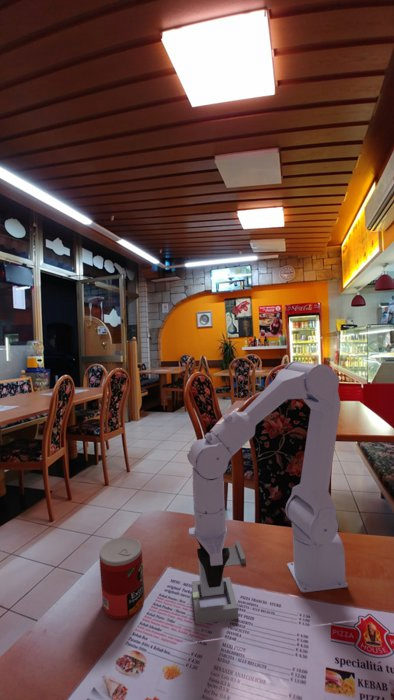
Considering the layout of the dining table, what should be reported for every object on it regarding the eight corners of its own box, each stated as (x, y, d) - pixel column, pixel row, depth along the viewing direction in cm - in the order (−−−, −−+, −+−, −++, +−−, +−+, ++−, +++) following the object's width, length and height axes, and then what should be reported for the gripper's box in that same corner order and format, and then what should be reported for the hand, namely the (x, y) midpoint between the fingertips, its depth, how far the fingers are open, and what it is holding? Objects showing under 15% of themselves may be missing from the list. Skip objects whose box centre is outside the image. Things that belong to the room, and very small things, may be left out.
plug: (220, 577, 66) (218, 545, 65) (223, 593, 62) (222, 558, 61) (199, 580, 65) (197, 547, 65) (202, 596, 61) (200, 561, 61)
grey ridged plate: (239, 546, 81) (239, 540, 80) (245, 564, 74) (245, 558, 74) (210, 549, 80) (210, 543, 80) (214, 568, 74) (214, 562, 73)
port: (230, 587, 68) (229, 575, 68) (238, 619, 60) (237, 606, 60) (191, 592, 67) (191, 580, 67) (195, 625, 59) (194, 611, 59)
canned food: (136, 623, 60) (132, 564, 60) (95, 618, 62) (91, 560, 61) (150, 591, 68) (147, 538, 67) (113, 586, 70) (110, 535, 69)
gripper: (185, 489, 69) (188, 553, 70) (190, 530, 55) (194, 610, 56) (219, 486, 70) (222, 550, 71) (233, 526, 56) (236, 605, 56)
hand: (212, 576), depth 63 cm, fingers closed on plug, 4 cm apart
